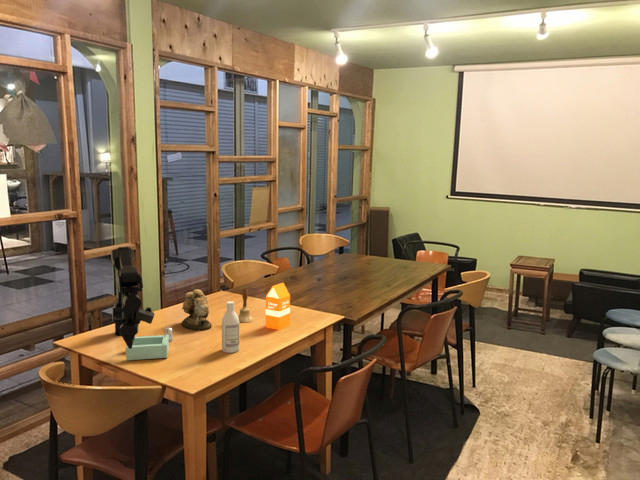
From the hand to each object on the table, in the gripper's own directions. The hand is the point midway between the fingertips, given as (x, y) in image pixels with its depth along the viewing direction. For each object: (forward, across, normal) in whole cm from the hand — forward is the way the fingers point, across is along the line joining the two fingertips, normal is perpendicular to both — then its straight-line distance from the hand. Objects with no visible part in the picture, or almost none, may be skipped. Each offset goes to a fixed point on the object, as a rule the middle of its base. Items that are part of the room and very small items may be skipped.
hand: (131, 344), depth 199 cm
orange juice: (+6, +30, -62) cm, 69 cm away
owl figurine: (+6, +38, -24) cm, 46 cm away
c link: (+6, +5, -5) cm, 9 cm away
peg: (+6, +19, -13) cm, 24 cm away
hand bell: (+6, +42, -47) cm, 64 cm away
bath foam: (+6, +3, -38) cm, 38 cm away
